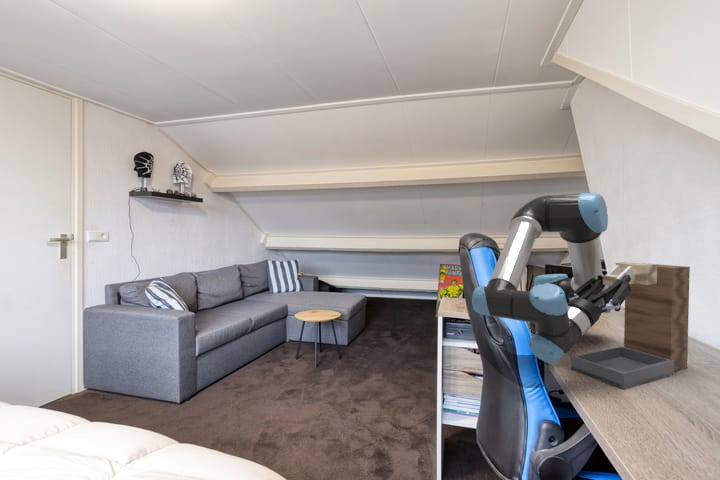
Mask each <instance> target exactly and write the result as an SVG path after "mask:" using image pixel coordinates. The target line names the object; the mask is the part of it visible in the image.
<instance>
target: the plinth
mask: <svg viewBox="0 0 720 480" xmlns="http://www.w3.org/2000/svg"><path fill="white" fill-rule="evenodd" d="M642 264H647V263H645V262H643V263H642ZM655 264H656V265H657V284H652V285H642V284H629V285H630V288H631V292H630V293H629V295H628V296H627V297H626V299H625V300H624V327H623V328H624V331H623V332H624V338H623V341H624V342H623V347H626V348H630V349H634V350H637V351H641V352H644V353H648V354H652V355H655V356H659V357H662V358H666V359H670V360H673V361H674V373H675V372H679V371H683V370H686V369H688V355H689V354H688V352H689V349H688V348H689V346H688V345H689V313H690V312H689V311H690V310H689V309H690V308H689V306H690V304H689V303H690V272H691V271H690V270H691V269H690V266H687V265H685V266H684V265H671V264H658V263H655Z"/></svg>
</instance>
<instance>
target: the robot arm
mask: <svg viewBox="0 0 720 480" xmlns="http://www.w3.org/2000/svg"><path fill="white" fill-rule="evenodd" d="M608 222H609V215H608V206H607V203H606V201H605V198H604V196H603V195H602V194H601V193H596V192H581V193H569V194H555V195H554V194H553V195H551V194H550V195H541V196H538V197H535V198H533V199H531V200H530V201H528V202H527V203H525V204H524V205H523V206H521V207H520V208H519V209H518V211H516V212H515V214H514V215H513V216H512V217H511V220H510V222H509V226H508V228H509V229H508V230H509V234H508V235H507V238H506V240H505V243H504V245H503V247H502V249H501V252H500V254H499V257H498V259H497V261H496V264H495V267H494V269H493V271H492V273H491V276H490V278H489V281H488V283H487V285H486V286H485V285H483V286H476V287H475V288H474V290H473V292H472V297H471V304H472V308H473V310H474V312H475V313H476V314H479V315H480V314H481V315H484V316H488V317H494V318H502V319H509V320H515V321H521V322H526V323H528V327H529V326H530V329H531V331H532V332H531V333H532V334H533V335H532V337H530V338H529V341H528V347H529V350H530V351H531V352H532V353H533V355H534V356H535V357H536V358H537V359H539V360H541V361H543V362H544V363H546V364H547V363H548V364H556V363H558V361H559V360H560V359H562V357H565V356H566V354H567V353H568V352H569V351H570V350H571V349H572V348H573V346H575V345H576V343H578V341H580V339H581V338H582V337H584V335H585V334H586V333H588V331H589V330H590V328H592V327H593V326H594V325H595V324H596V323H597V322H598V321H599V320H600V317H601V315H602V314H603V313H604V314H608V313H611V311H612V310H613V309H614V311H615V312H620V311H621V307H622V304H623V303H625V299H626V297H627V296H628V295H629V293H630V292H631V288H630V285H629V282H630V281H631V277H632V276H633V275H634V272H633V269H632V266H628V267H627V268H626V269H625V270H624V271H623V272H622V273H621V270H620V267H619V265H616V264H615V265H614V266H613V268H612V269H611V270H610V271H608V272H605V274H603V270H602V269H603V267H602V261H601V254H600V253H601V252H600V245H599V238H600V236H601V235H602V234H603V233H605V232H606V231H607V230H608V229H607V228H608V225H609V224H608ZM546 232H547V233H559V236H560V238H561V239H562V240H563V241H565V242H566V246H567V250H568V254H569V260H570V264H571V265H570V266H571V269H572V275H573V276H572V278H571V277H570V278H569V276H568V274H566V273H552V274H551V273H549V274H541V275H537V276H535V277H534V280H533V286H532V288H531V289H530V290H529V291H527V290H518V289H519V286H520V284H521V281H522V277H523V275H524V272H525V269H526V266H527V265H528V261H529V259H530V255H531V253H532V250H533V247H534V244H535V241H536V240H537V239H538V238H540V237H541V235H542V233H546ZM618 274H620V275H619V276H618V277H617V278H616V280H617V281H616V282H615V283H614V284H612V285H611V286H610V285H603V276H605V275H618Z"/></svg>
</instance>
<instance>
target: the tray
mask: <svg viewBox="0 0 720 480" xmlns="http://www.w3.org/2000/svg"><path fill="white" fill-rule="evenodd" d="M570 357H571V358H570V370H571V371H574V372H577V373H578V374H582V375H584V376H587V377H590V378H592V379H595V380H598V381H600V382H602V383H606V384H608V385H611V386H612V387H616V388H619V389H621V390H623V391H624V390H628V389H630V388H634V387H637V386H641V385H643V384H648V383H650V382H654V381H657V380H662V379H664V378H667V377H670V376H673V375H675V374H674V373H675V372H674V361H673V360H670V359H666V358H662V357H659V356H655V355H652V354H648V353H644V352H641V351H637V350H634V349H630V348H626V347H624V345H616V346H611V347H607V348H603V349H598V350H593V351H588V352H584V353H579V354H578V353H577V354H574V355H570Z"/></svg>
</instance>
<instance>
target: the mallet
mask: <svg viewBox="0 0 720 480" xmlns="http://www.w3.org/2000/svg"><path fill="white" fill-rule="evenodd" d="M656 264H657V263H646V264H642V263H641V262H626V261H625V262H615V266H616V265H619V267H620V270H621V273H622V272H623V271H624V270H625V269H626V268H627V267H628V266H632V269H633V272H634V275H633V276H632V277H631V281H630V282H629V284H642V285H652V284H657V265H656ZM619 275H620V274H618V275H605V276H603V285H610V286H611V285H612V284H614V283H615V282H616V281H617V280H616V278H617V277H618V276H619Z"/></svg>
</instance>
